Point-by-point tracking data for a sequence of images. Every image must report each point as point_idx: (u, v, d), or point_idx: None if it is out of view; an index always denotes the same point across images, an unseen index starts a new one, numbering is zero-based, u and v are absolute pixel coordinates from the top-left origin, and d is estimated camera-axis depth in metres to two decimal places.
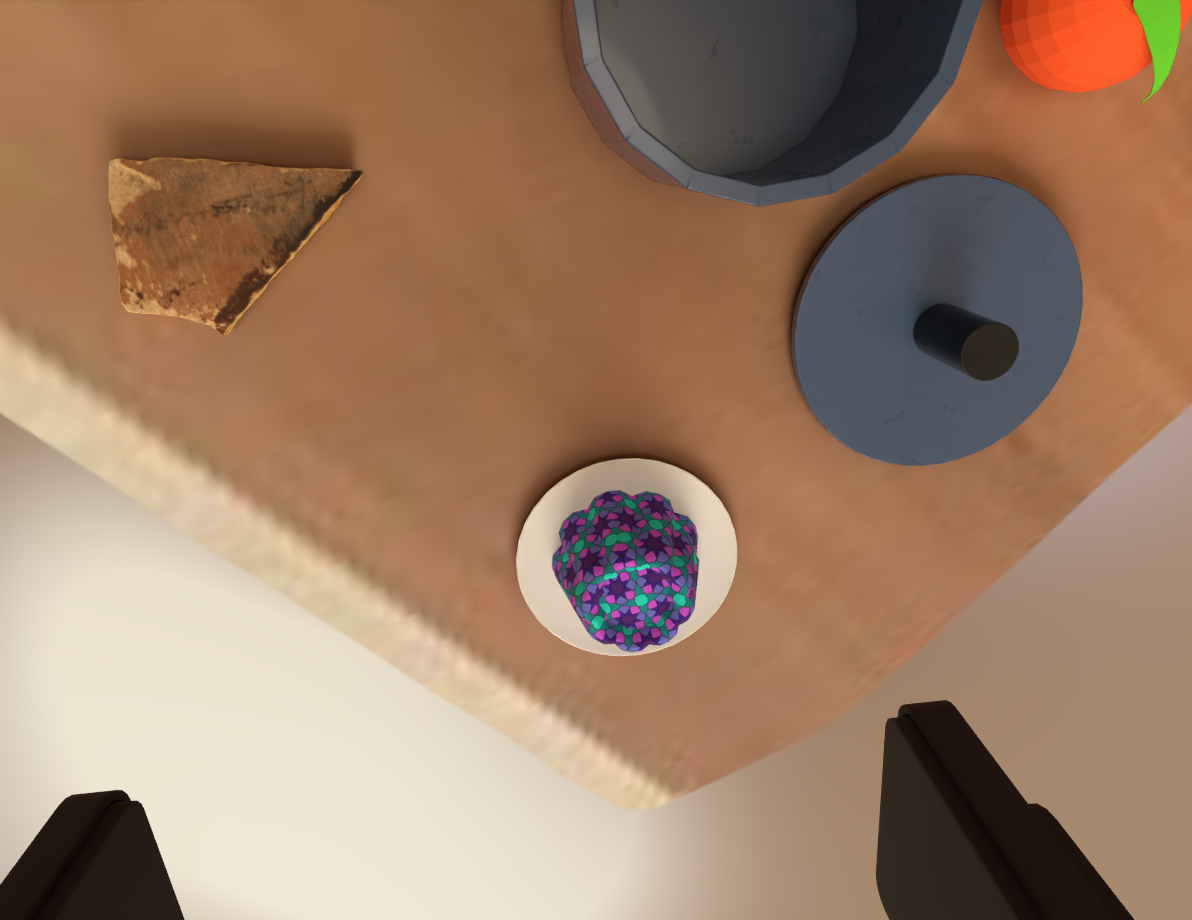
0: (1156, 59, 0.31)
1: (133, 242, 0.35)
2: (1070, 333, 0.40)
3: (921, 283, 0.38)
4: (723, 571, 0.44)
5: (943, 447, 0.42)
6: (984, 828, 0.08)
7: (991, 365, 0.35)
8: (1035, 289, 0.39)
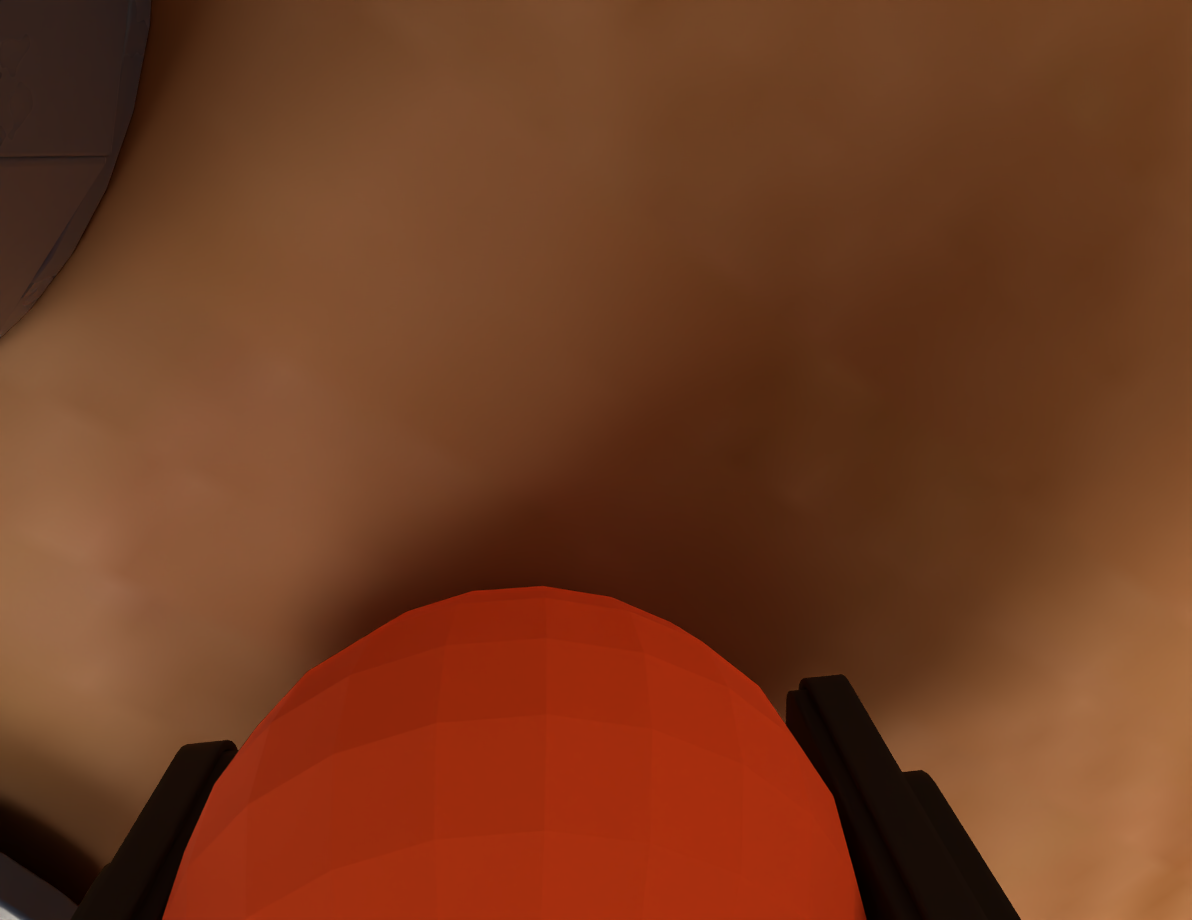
0: None
1: None
2: None
3: None
4: None
5: None
6: (855, 788, 0.08)
7: None
8: None
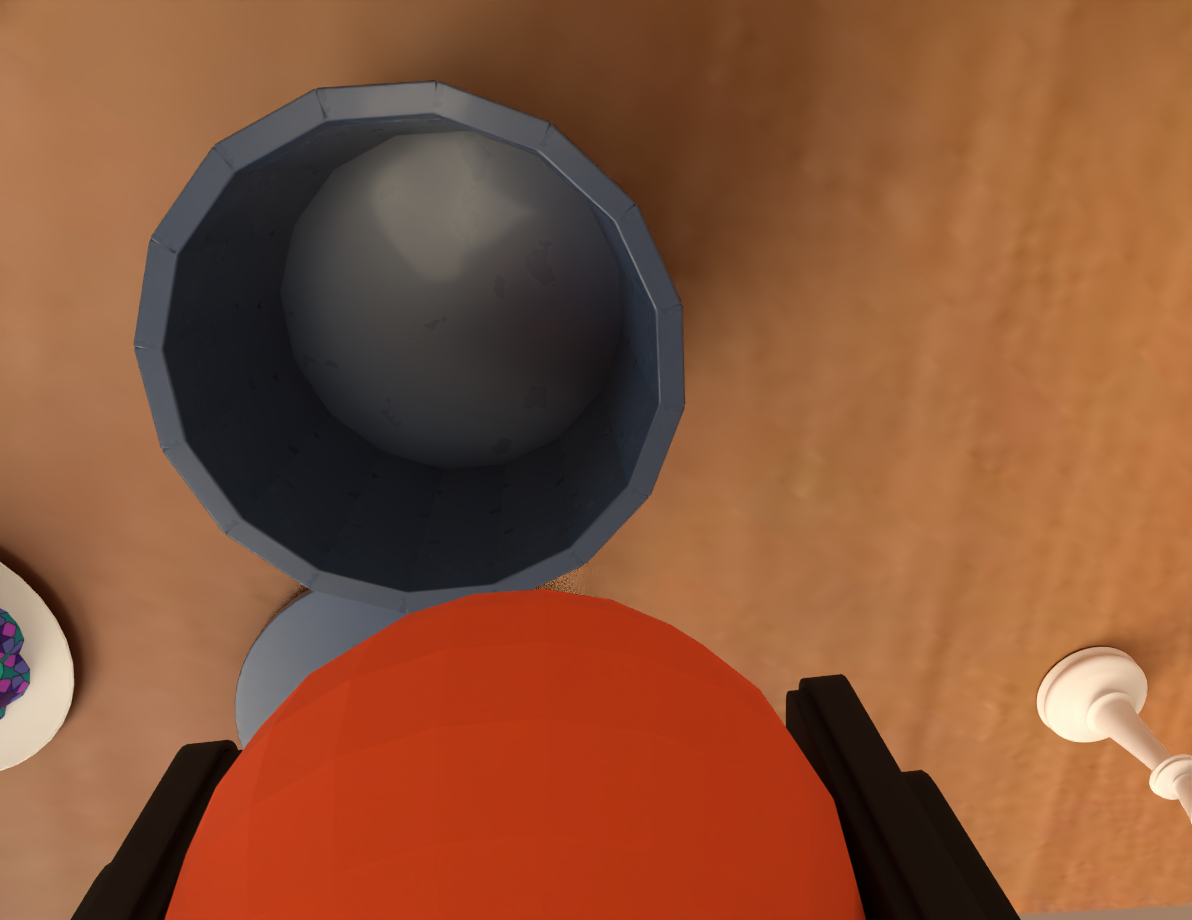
0: None
1: None
2: None
3: None
4: (17, 747, 0.34)
5: None
6: (855, 788, 0.08)
7: None
8: None
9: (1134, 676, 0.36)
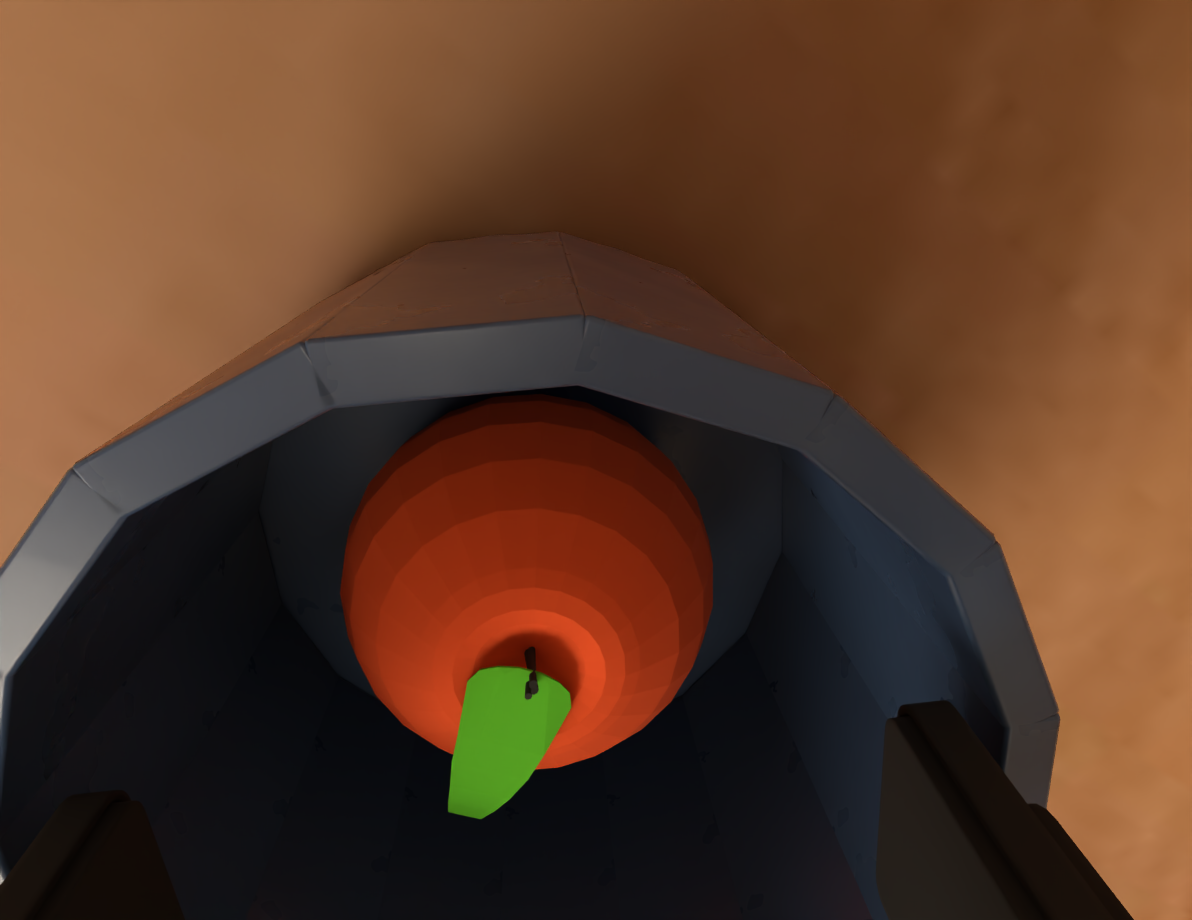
0: (458, 791, 0.13)
1: None
2: None
3: None
4: None
5: None
6: (983, 828, 0.08)
7: None
8: None
9: None
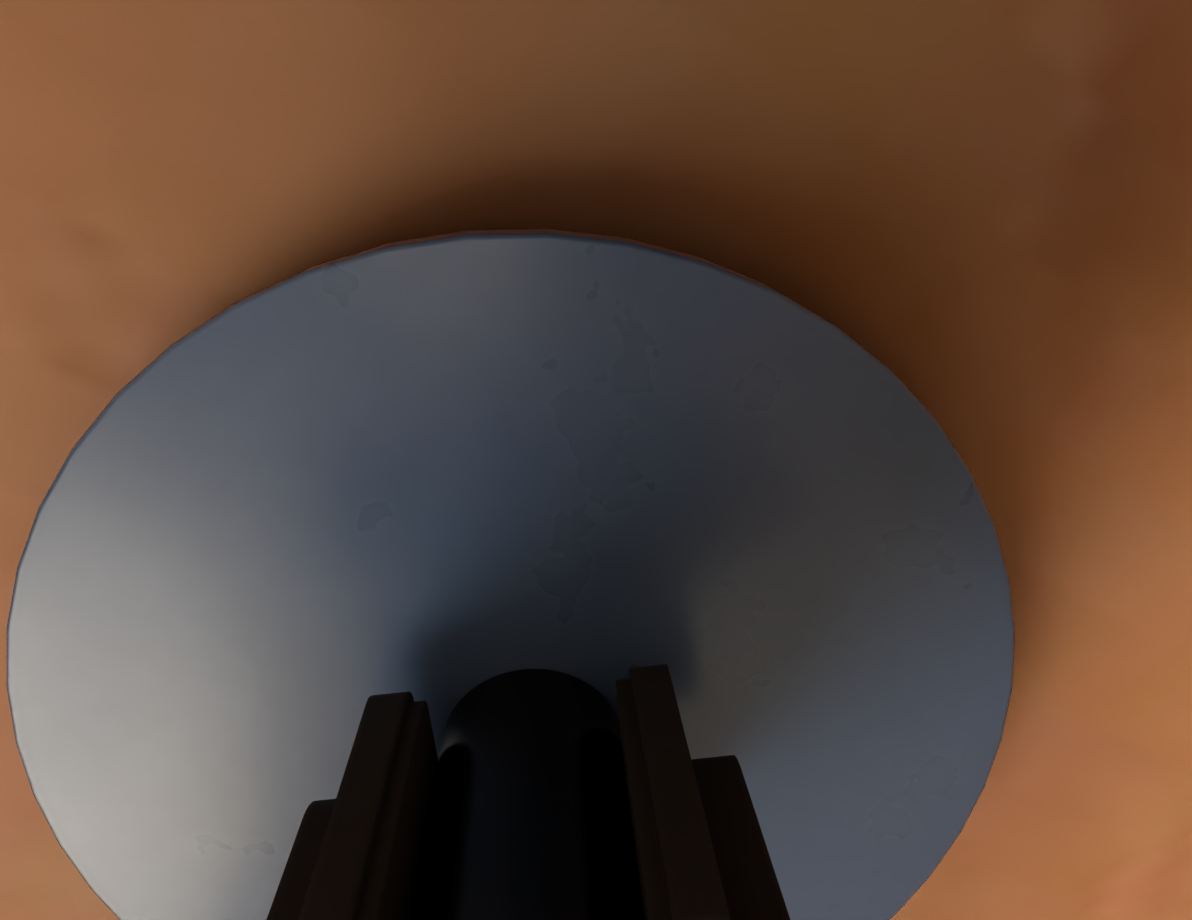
0: None
1: None
2: None
3: (596, 598, 0.11)
4: None
5: None
6: (645, 769, 0.09)
7: None
8: (811, 842, 0.13)
9: None
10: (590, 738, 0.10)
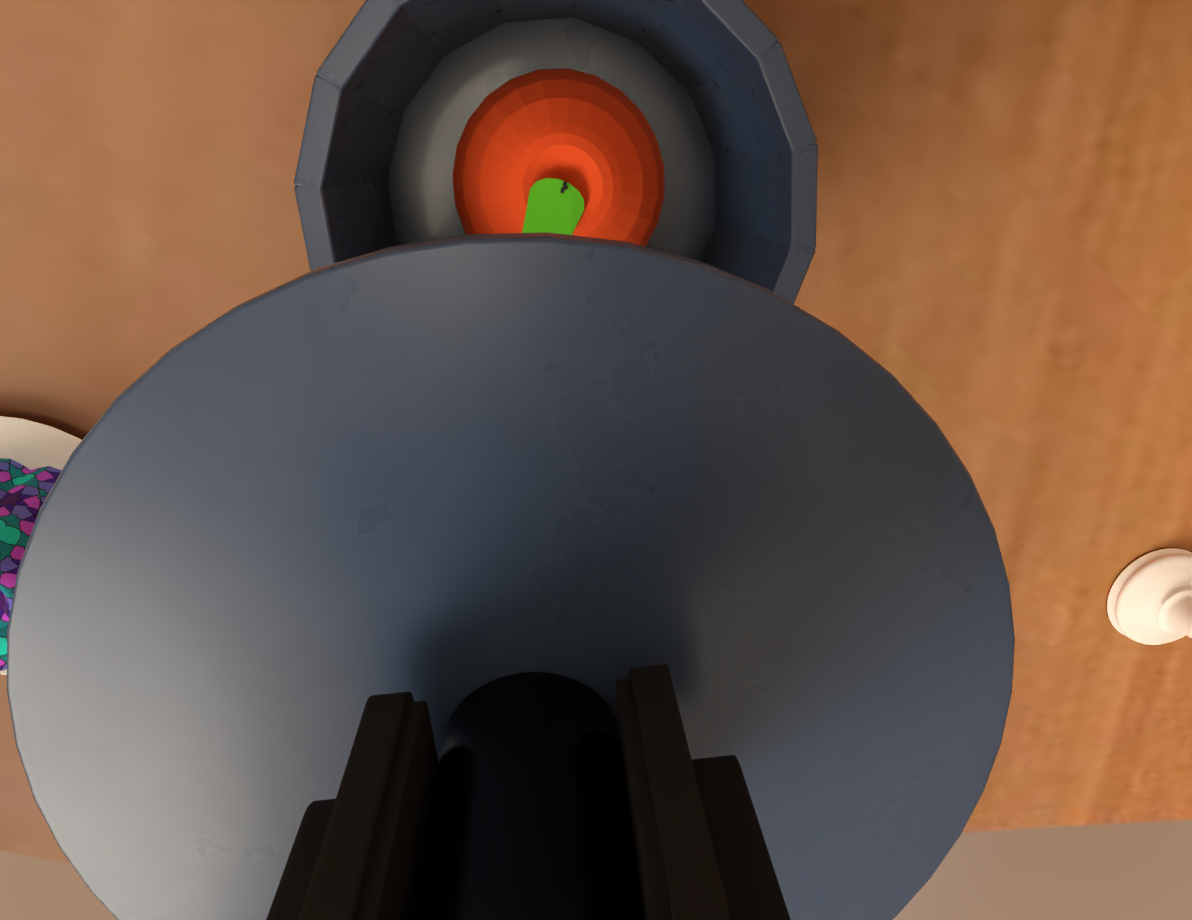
0: None
1: None
2: None
3: (596, 601, 0.11)
4: None
5: None
6: (645, 769, 0.09)
7: None
8: (811, 845, 0.13)
9: None
10: (590, 741, 0.10)
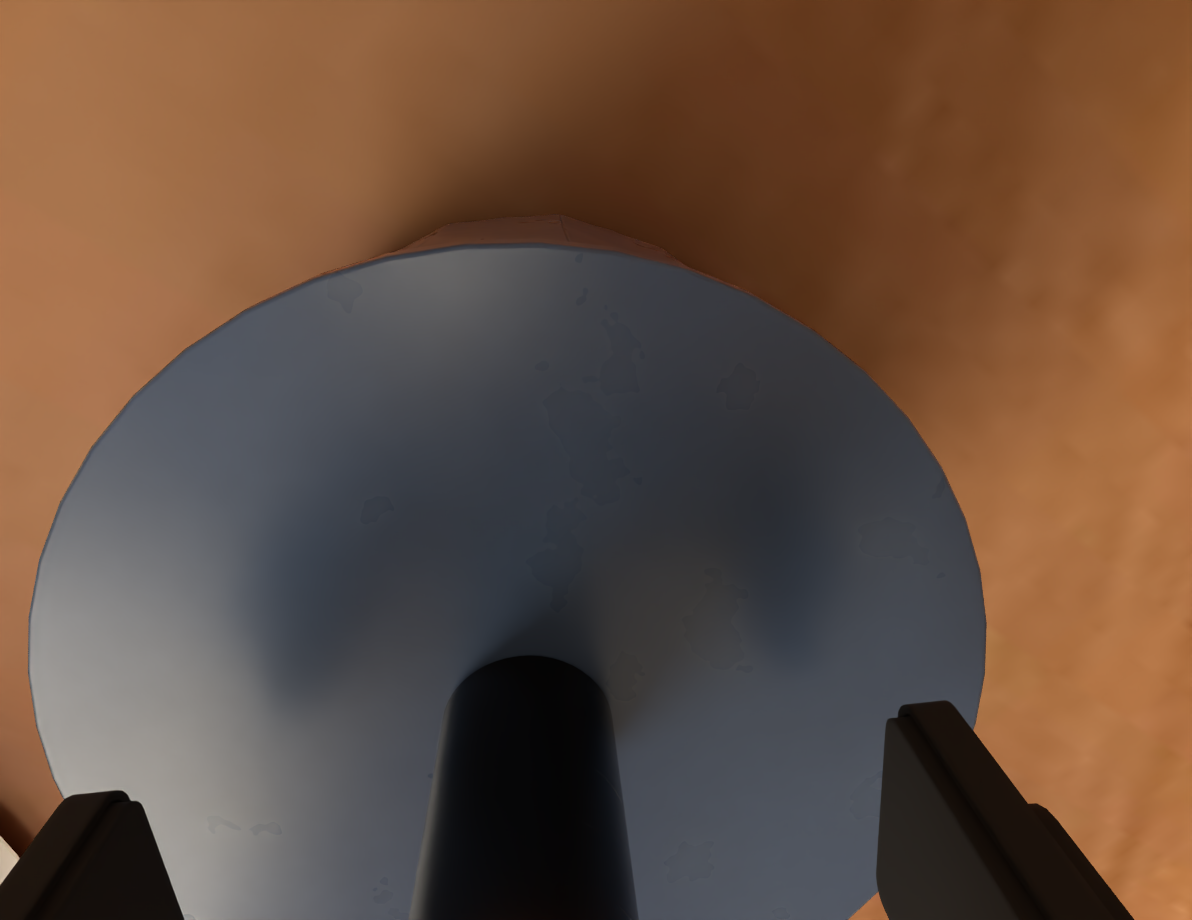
0: None
1: None
2: None
3: (587, 588, 0.12)
4: None
5: None
6: (984, 828, 0.08)
7: None
8: (795, 823, 0.13)
9: None
10: (581, 719, 0.11)
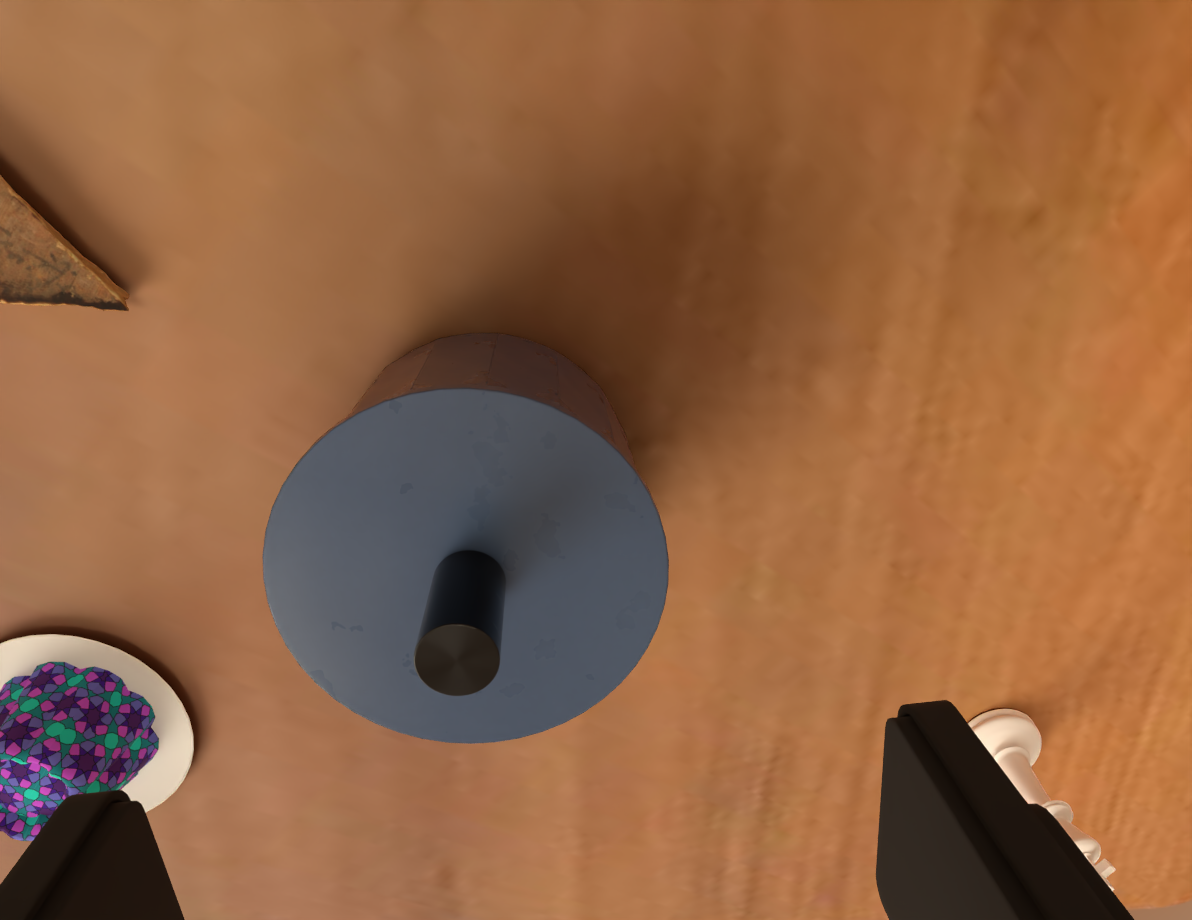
0: None
1: None
2: (585, 699, 0.31)
3: (492, 521, 0.28)
4: (147, 798, 0.43)
5: (372, 700, 0.30)
6: (984, 828, 0.08)
7: (446, 675, 0.24)
8: (591, 630, 0.30)
9: (1029, 732, 0.45)
10: (488, 572, 0.27)
